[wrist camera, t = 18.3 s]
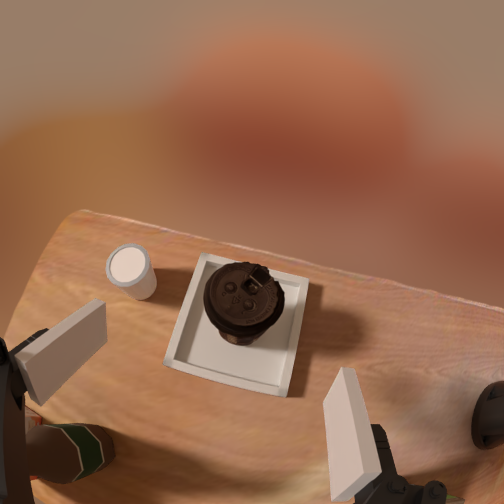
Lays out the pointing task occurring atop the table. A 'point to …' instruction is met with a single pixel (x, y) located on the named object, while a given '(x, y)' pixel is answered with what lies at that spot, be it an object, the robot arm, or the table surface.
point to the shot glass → (132, 271)
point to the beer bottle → (67, 451)
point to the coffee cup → (243, 301)
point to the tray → (232, 356)
